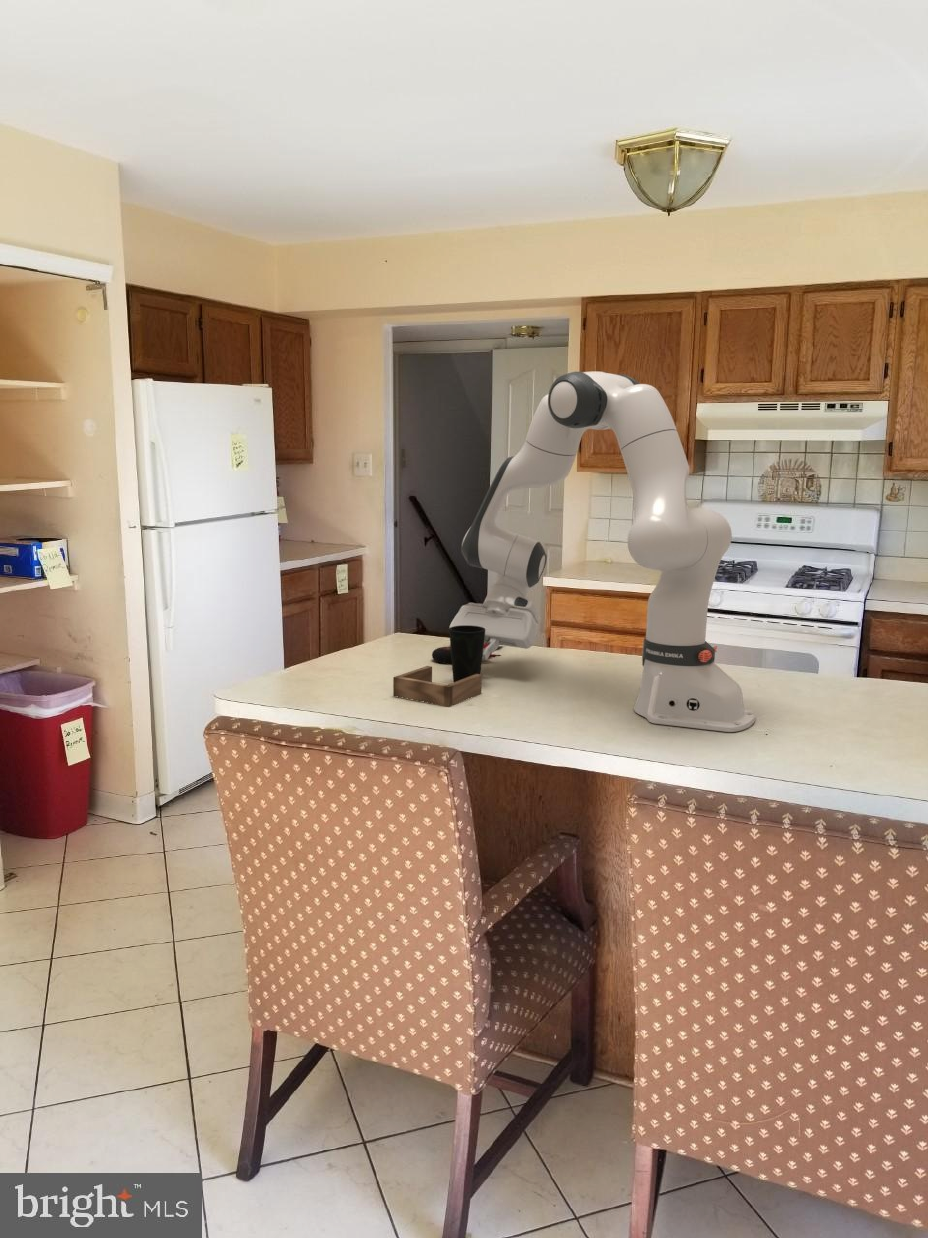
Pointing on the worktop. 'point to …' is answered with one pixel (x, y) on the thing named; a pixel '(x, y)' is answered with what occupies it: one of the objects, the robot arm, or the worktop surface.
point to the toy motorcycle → (449, 654)
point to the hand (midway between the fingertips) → (480, 657)
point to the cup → (466, 650)
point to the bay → (435, 687)
